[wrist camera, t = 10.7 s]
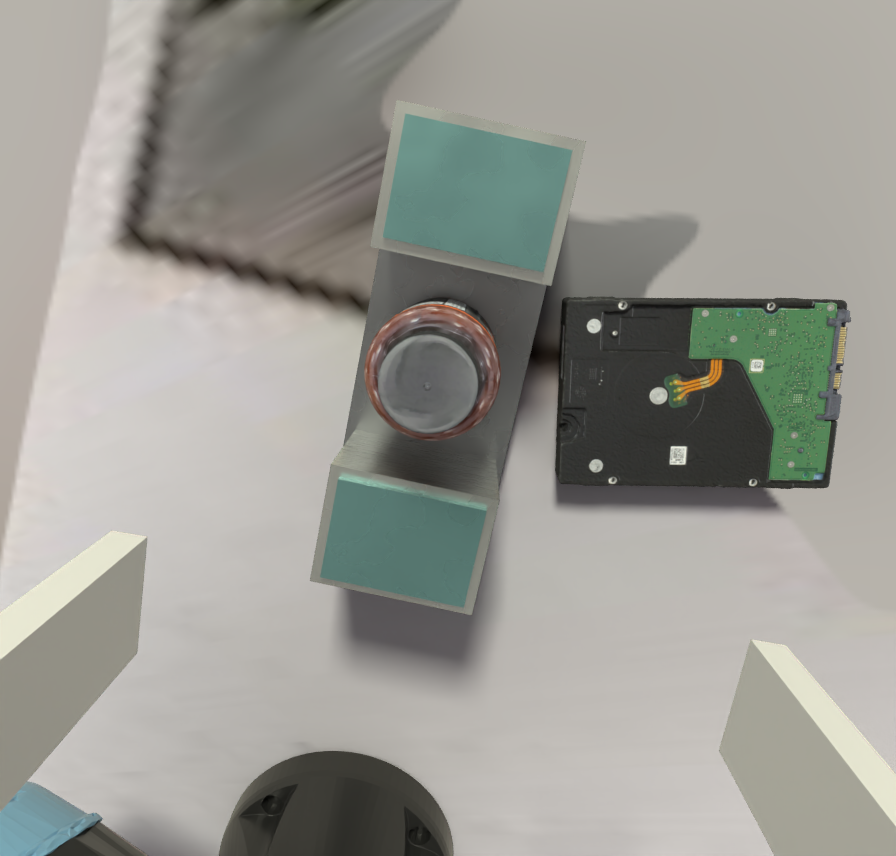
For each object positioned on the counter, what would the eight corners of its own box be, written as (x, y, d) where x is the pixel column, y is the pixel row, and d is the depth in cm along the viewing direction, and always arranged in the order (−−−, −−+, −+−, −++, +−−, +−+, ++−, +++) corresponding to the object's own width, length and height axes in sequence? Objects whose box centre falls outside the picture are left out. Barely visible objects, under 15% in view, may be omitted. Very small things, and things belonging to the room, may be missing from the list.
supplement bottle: (503, 397, 40) (513, 451, 29) (396, 412, 40) (365, 470, 29) (488, 287, 38) (493, 300, 27) (378, 303, 39) (339, 322, 28)
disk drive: (554, 474, 43) (811, 475, 42) (558, 488, 40) (833, 490, 39) (558, 296, 40) (831, 293, 40) (563, 299, 38) (856, 296, 37)
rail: (479, 556, 44) (479, 630, 35) (332, 524, 43) (296, 591, 35) (574, 158, 38) (602, 129, 30) (406, 121, 38) (386, 82, 29)
